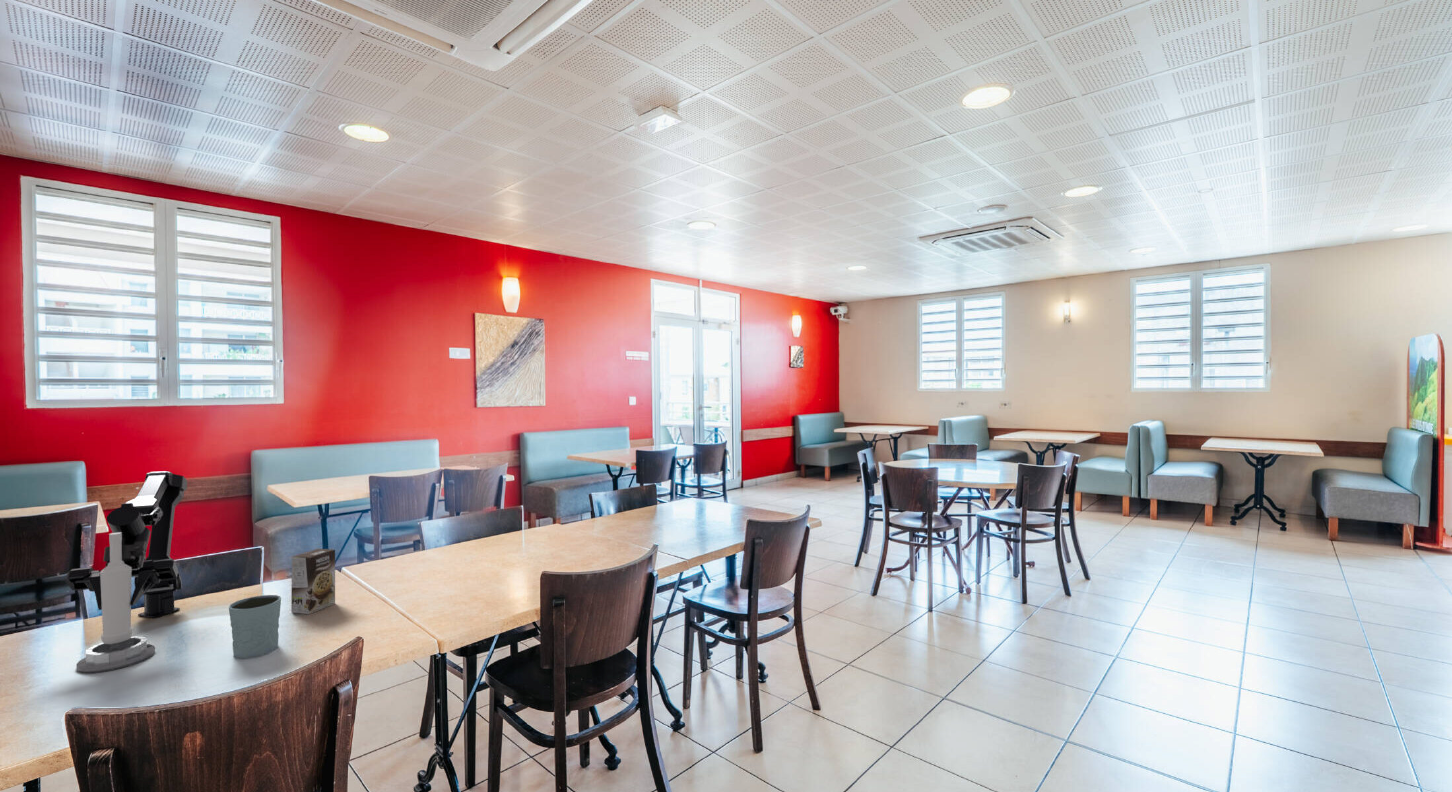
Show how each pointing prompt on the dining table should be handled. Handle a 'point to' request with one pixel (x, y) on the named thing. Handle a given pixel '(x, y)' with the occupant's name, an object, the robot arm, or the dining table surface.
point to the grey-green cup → (255, 625)
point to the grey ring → (115, 655)
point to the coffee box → (313, 581)
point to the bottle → (116, 595)
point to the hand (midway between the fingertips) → (116, 607)
